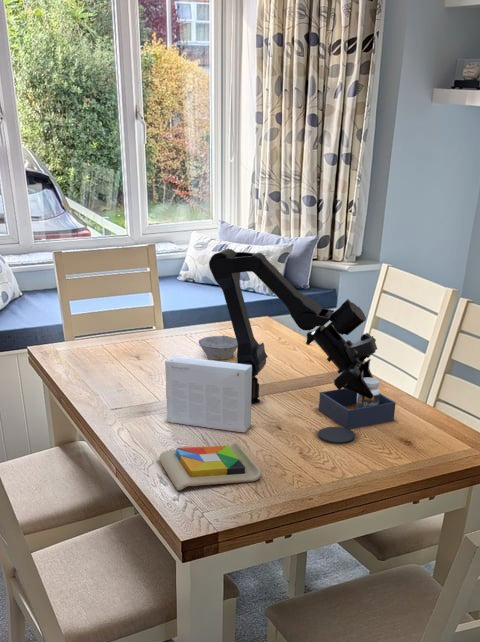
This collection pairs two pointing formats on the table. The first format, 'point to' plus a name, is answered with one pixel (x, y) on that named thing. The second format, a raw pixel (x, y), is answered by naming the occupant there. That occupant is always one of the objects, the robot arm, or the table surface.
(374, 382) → the pill bottle
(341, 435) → the coaster
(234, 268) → the robot arm
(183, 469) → the wooden puzzle
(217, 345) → the bowl
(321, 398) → the open box
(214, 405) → the skincare box
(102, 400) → the table surface
